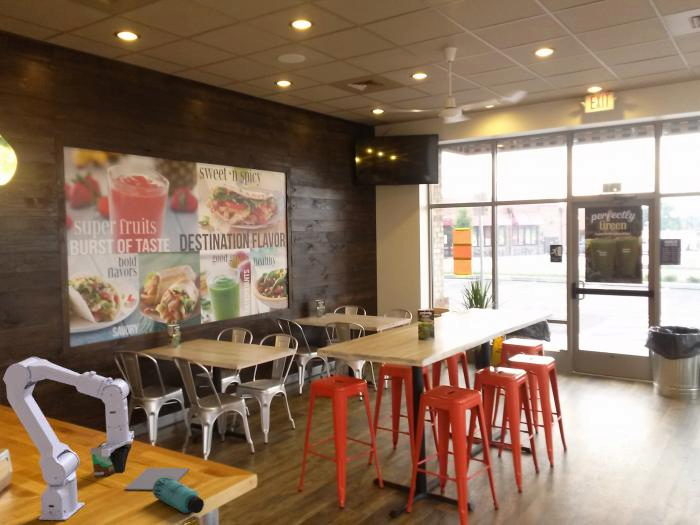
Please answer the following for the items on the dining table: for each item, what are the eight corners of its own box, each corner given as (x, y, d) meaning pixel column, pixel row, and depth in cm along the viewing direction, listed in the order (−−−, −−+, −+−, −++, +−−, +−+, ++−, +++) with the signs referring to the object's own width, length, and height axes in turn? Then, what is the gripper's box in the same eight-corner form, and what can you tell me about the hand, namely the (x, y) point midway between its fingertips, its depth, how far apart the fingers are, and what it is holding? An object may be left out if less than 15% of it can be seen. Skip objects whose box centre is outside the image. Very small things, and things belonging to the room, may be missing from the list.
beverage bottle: (172, 482, 176) (213, 502, 163) (156, 502, 172) (196, 523, 159) (160, 469, 173) (200, 488, 160) (144, 488, 169) (184, 509, 156)
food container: (109, 480, 186) (107, 449, 185) (91, 479, 187) (89, 448, 187) (131, 464, 198) (129, 435, 197) (114, 463, 199) (113, 434, 199)
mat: (169, 490, 177) (169, 489, 177) (124, 490, 178) (124, 488, 178) (188, 469, 192) (188, 468, 192) (147, 469, 194) (147, 467, 194)
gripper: (118, 433, 157) (121, 483, 158) (142, 416, 172) (145, 462, 172) (93, 433, 158) (95, 483, 159) (119, 416, 172) (122, 461, 173)
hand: (120, 472), depth 166 cm, fingers closed
